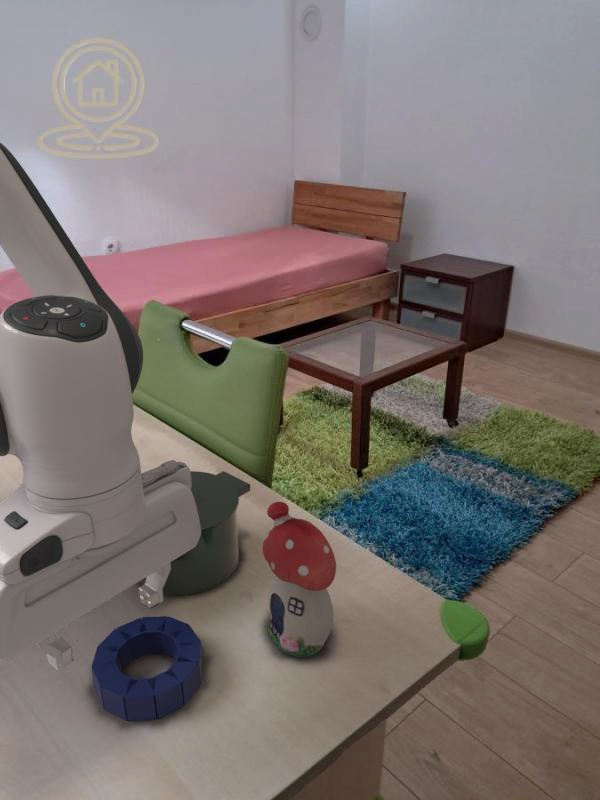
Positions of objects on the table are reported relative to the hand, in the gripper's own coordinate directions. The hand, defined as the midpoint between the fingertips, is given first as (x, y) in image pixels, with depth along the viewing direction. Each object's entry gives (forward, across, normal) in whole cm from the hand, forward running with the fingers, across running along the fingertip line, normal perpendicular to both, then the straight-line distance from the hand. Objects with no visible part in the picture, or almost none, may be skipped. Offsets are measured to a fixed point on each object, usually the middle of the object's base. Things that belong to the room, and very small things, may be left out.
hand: (109, 630), depth 57 cm
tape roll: (+9, -4, 0) cm, 10 cm away
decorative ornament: (+9, -18, +7) cm, 21 cm away
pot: (+9, -16, -12) cm, 21 cm away
